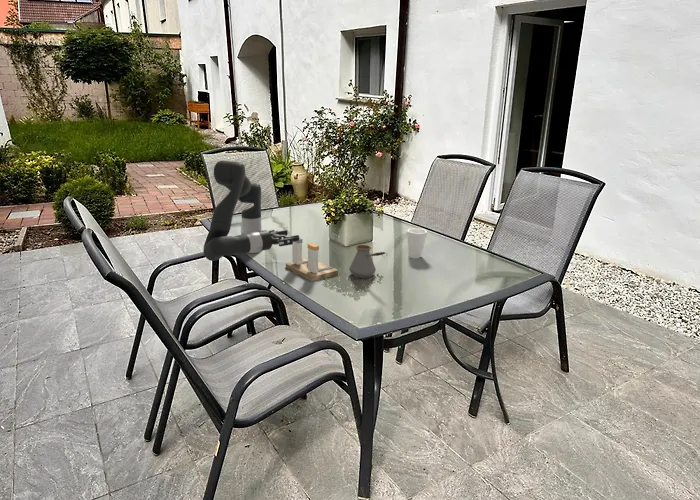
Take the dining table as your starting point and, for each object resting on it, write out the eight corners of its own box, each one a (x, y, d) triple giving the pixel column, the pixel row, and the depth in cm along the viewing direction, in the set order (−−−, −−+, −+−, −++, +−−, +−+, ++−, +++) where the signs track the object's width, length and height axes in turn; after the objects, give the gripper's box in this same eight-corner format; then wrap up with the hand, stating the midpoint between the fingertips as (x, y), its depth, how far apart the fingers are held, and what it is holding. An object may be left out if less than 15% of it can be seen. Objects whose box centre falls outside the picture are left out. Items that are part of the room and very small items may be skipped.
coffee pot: (344, 273, 204) (345, 240, 199) (365, 268, 210) (367, 237, 205) (371, 290, 187) (373, 254, 182) (394, 285, 193) (396, 250, 188)
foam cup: (426, 255, 231) (429, 230, 227) (421, 260, 223) (423, 234, 219) (408, 252, 235) (410, 227, 231) (402, 257, 227) (404, 231, 223)
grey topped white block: (297, 265, 204) (297, 239, 200) (291, 262, 207) (291, 237, 203) (302, 264, 205) (302, 239, 201) (296, 261, 209) (296, 236, 205)
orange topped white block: (313, 273, 195) (314, 247, 191) (307, 270, 198) (307, 244, 195) (318, 272, 196) (318, 246, 193) (312, 268, 200) (312, 243, 196)
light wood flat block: (311, 281, 193) (311, 274, 192) (285, 267, 208) (285, 260, 207) (337, 274, 202) (338, 267, 201) (311, 261, 216) (311, 255, 215)
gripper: (266, 236, 169) (303, 230, 179) (247, 227, 179) (283, 222, 190) (266, 256, 171) (303, 248, 182) (247, 246, 182) (283, 239, 192)
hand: (292, 235), depth 186 cm, fingers open, 8 cm apart
